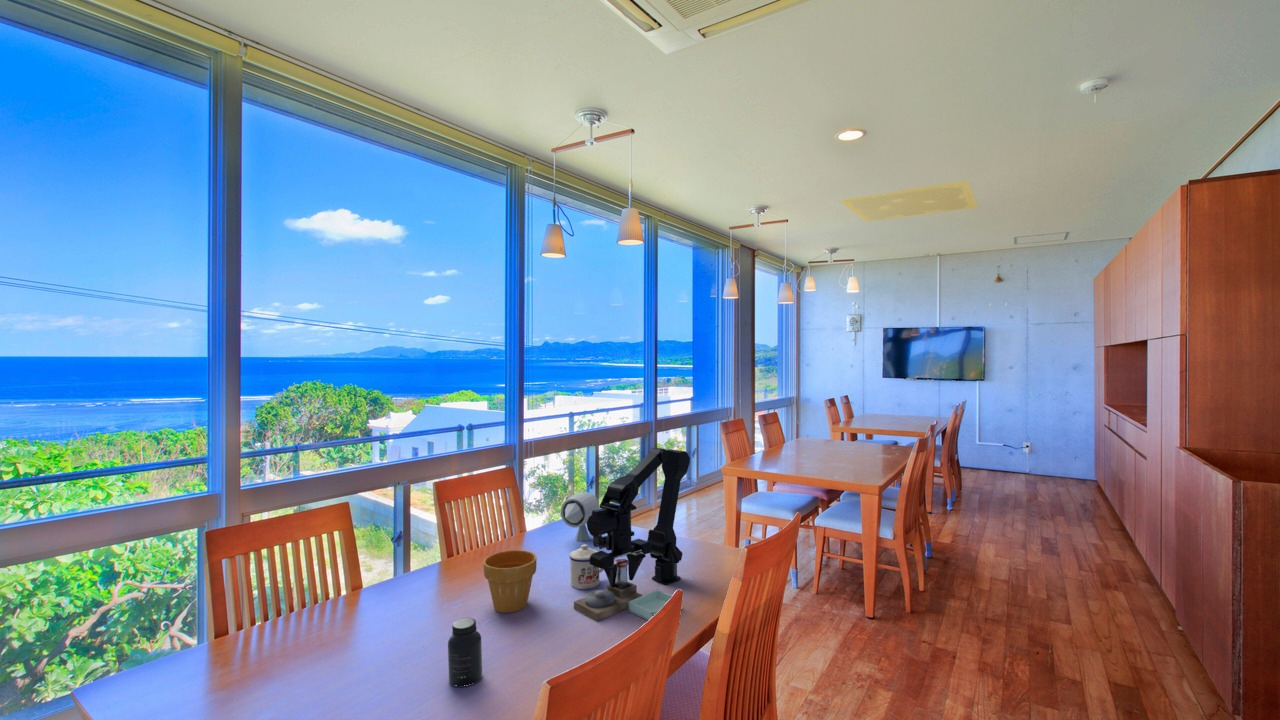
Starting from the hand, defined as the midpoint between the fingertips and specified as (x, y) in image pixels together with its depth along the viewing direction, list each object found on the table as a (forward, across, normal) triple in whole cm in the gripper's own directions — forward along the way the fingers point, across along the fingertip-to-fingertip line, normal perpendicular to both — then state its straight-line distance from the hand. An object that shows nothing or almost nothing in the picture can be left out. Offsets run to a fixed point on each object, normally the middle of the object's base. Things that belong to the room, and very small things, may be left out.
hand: (621, 583), depth 155 cm
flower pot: (+5, +24, -19) cm, 31 cm away
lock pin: (+2, 0, 0) cm, 2 cm away
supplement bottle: (+5, +49, +5) cm, 49 cm away
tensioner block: (+4, +5, 0) cm, 7 cm away
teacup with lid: (+5, -1, -16) cm, 17 cm away
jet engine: (+5, -22, -49) cm, 54 cm away
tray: (+4, -2, +11) cm, 12 cm away
